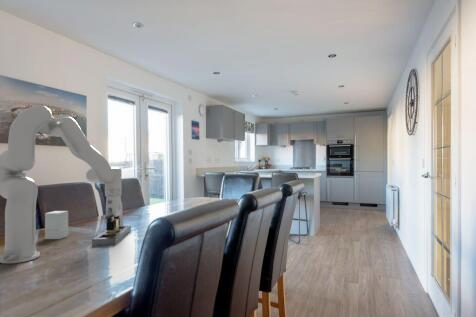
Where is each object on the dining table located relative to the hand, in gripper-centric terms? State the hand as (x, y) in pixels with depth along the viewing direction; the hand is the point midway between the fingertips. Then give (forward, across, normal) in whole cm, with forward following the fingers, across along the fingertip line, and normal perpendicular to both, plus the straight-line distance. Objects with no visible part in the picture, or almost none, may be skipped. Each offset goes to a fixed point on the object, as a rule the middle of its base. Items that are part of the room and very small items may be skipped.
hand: (113, 227), depth 146 cm
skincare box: (+5, +20, +5) cm, 22 cm away
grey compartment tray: (+5, 0, 0) cm, 5 cm away
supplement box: (+5, +4, +28) cm, 29 cm away
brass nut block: (+5, 0, 0) cm, 5 cm away
